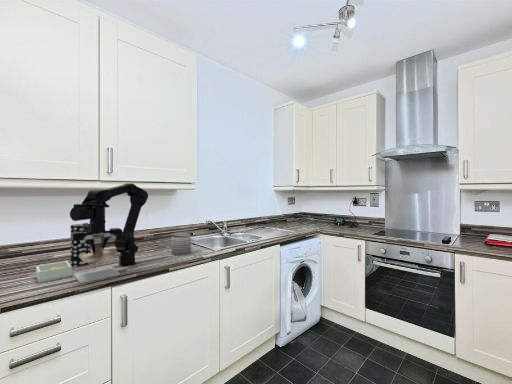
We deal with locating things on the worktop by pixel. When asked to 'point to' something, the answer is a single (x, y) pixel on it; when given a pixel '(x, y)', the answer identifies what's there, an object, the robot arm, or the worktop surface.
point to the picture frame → (96, 274)
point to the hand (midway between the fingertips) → (97, 253)
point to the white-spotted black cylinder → (79, 247)
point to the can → (180, 244)
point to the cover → (97, 255)
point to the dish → (53, 271)
